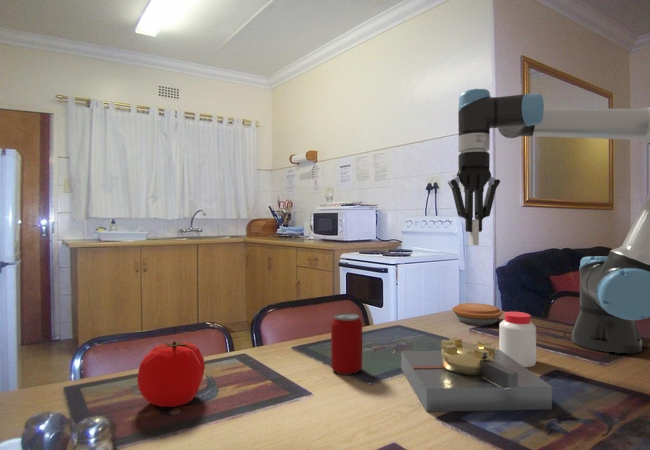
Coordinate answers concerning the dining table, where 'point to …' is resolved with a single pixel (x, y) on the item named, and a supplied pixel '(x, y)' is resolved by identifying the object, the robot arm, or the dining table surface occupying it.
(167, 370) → the tomato
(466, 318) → the pie
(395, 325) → the dining table surface
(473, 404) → the housing
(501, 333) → the pill bottle
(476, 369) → the studded gold disc
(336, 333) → the beverage can
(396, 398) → the dining table surface
